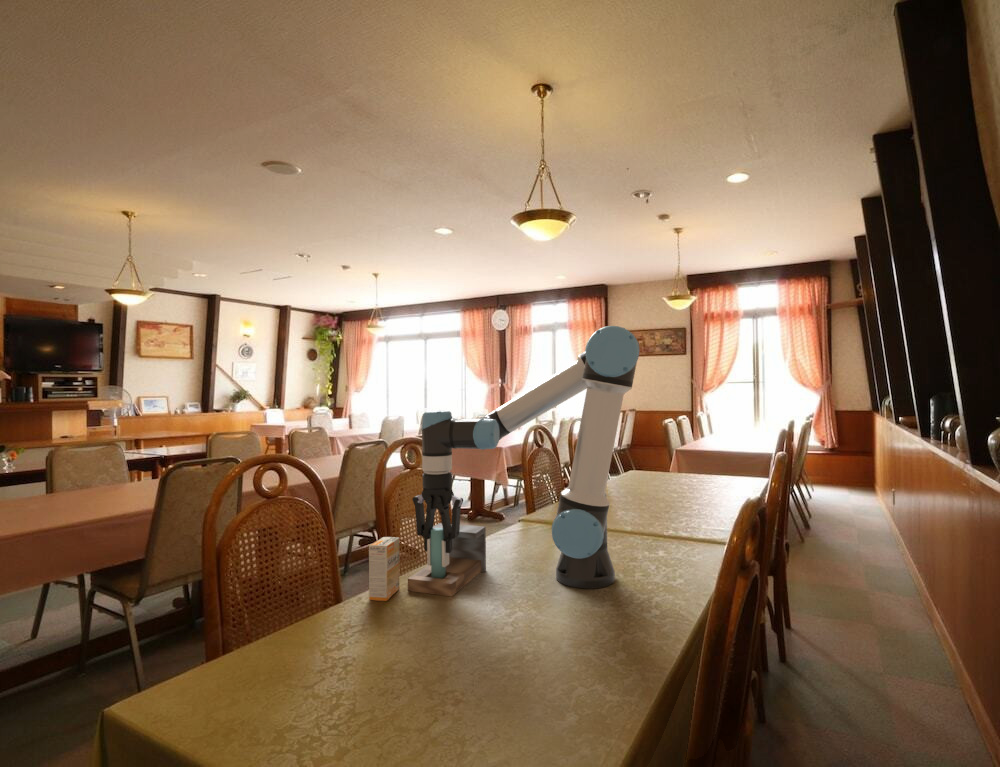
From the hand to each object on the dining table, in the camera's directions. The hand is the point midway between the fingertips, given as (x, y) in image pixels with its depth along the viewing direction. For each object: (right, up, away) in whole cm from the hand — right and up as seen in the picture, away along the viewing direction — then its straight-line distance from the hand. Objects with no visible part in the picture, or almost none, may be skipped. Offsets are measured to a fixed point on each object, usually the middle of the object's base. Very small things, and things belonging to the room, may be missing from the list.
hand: (438, 564), depth 138 cm
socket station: (+1, -6, +4) cm, 7 cm away
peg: (0, -5, 0) cm, 5 cm away
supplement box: (-12, -6, -5) cm, 15 cm away
